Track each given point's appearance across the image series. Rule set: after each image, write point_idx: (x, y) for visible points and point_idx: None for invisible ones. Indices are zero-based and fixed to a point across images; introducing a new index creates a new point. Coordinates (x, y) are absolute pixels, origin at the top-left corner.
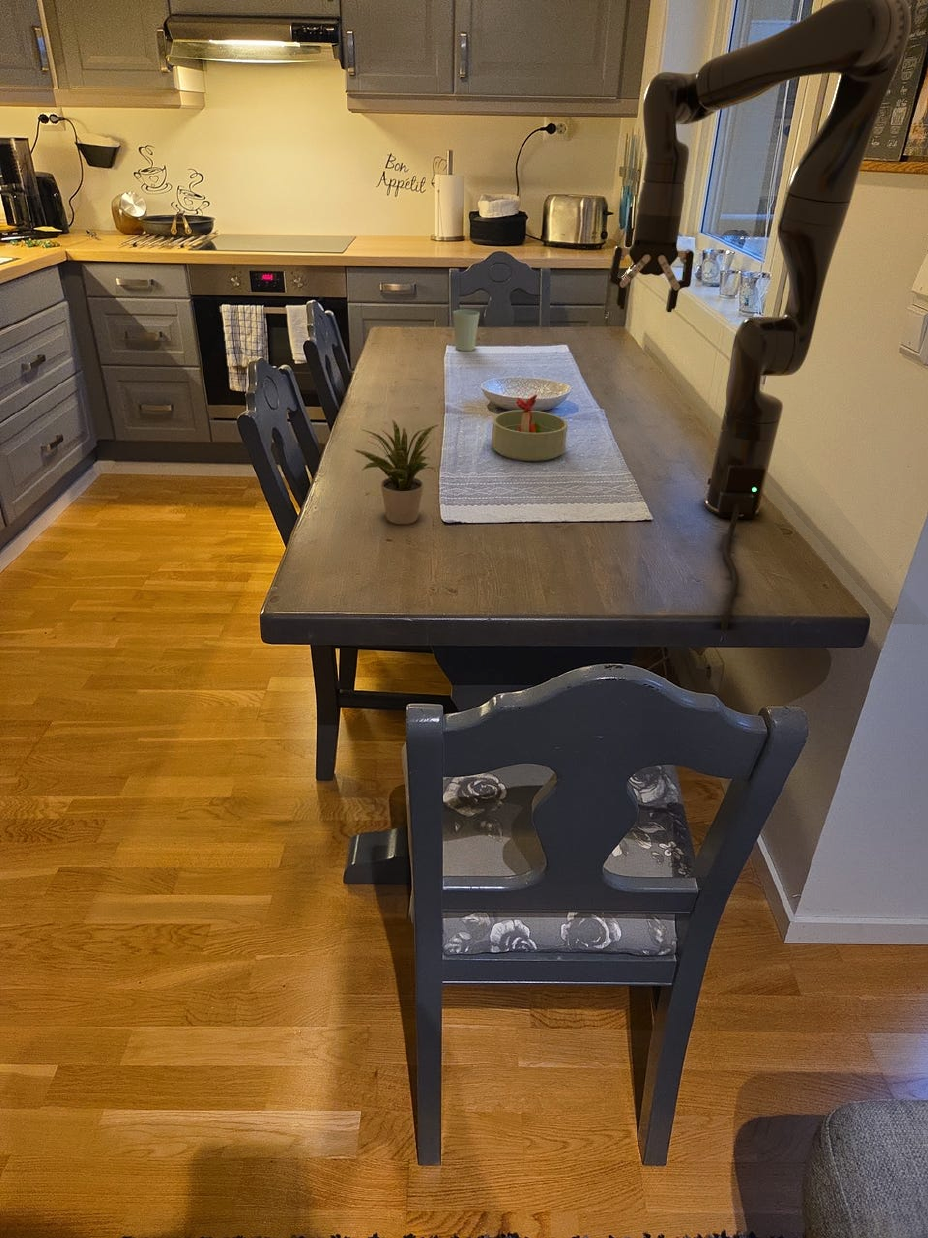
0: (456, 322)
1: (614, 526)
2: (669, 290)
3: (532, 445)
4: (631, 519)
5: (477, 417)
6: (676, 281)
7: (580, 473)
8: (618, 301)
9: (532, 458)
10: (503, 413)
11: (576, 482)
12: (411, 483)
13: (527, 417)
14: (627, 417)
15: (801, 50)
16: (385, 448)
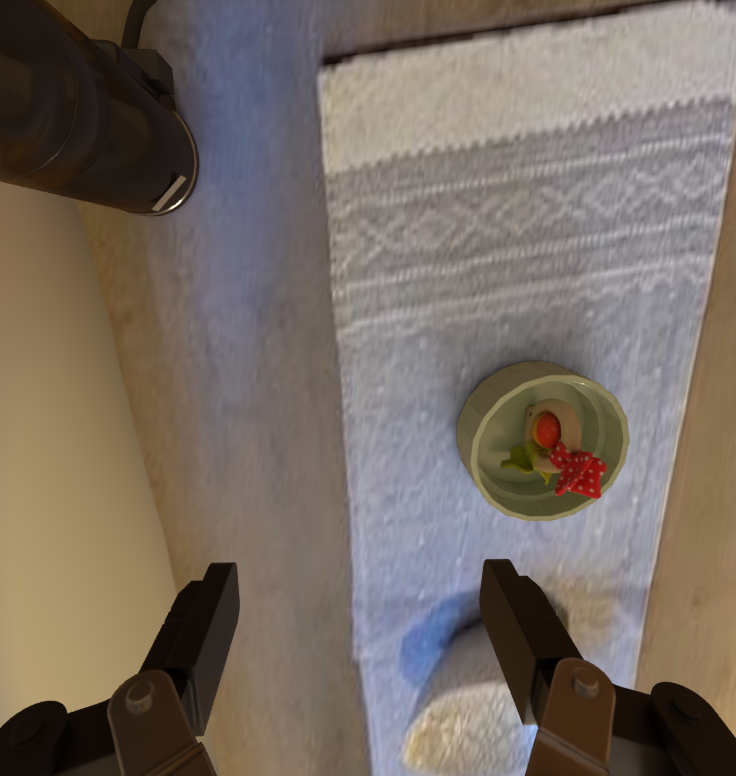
0: None
1: (403, 18)
2: (204, 709)
3: (543, 368)
4: (363, 65)
5: (594, 576)
6: (126, 742)
7: (437, 316)
8: (535, 593)
9: (529, 361)
10: None
11: (451, 265)
12: None
13: (571, 430)
14: (312, 627)
15: None
16: None
